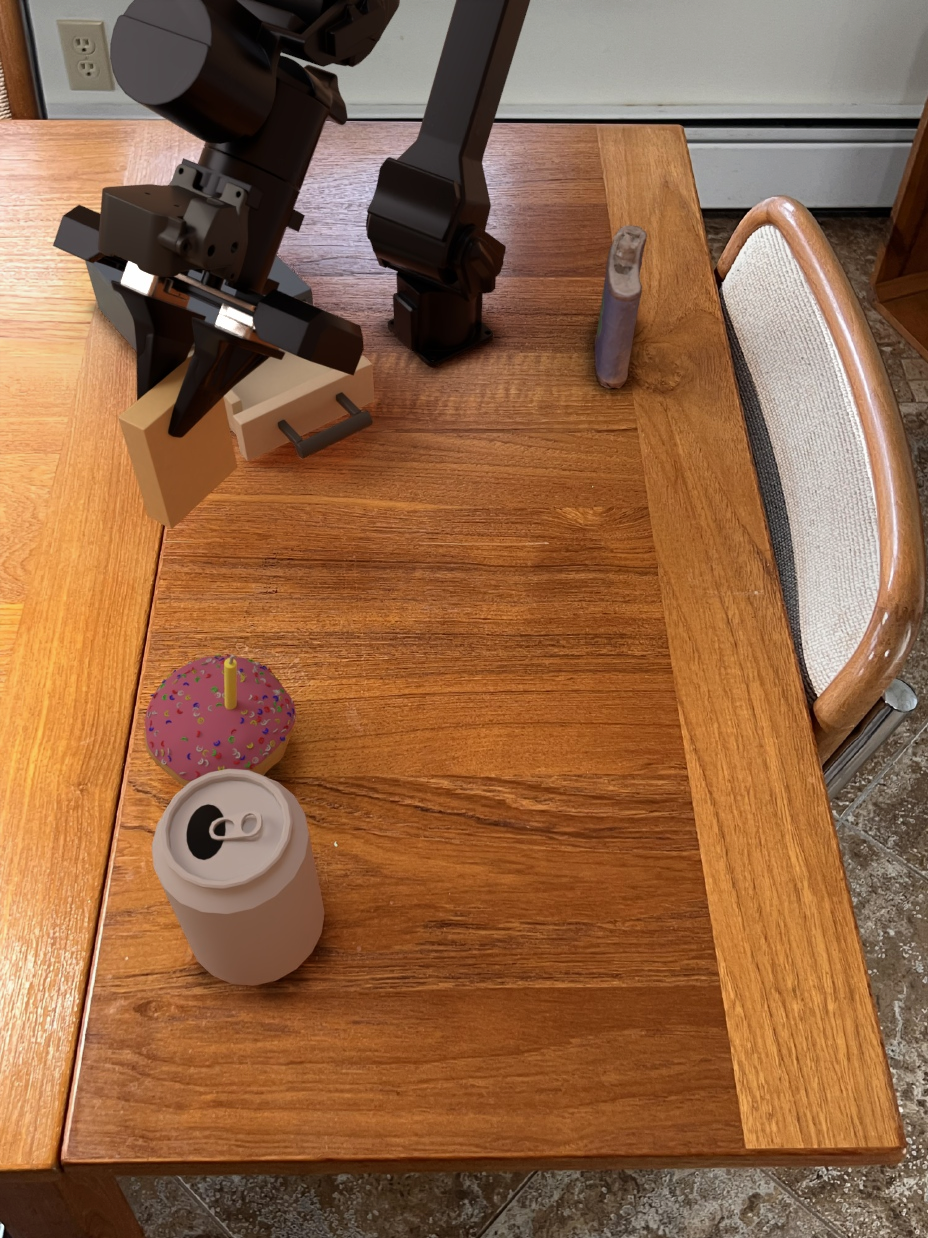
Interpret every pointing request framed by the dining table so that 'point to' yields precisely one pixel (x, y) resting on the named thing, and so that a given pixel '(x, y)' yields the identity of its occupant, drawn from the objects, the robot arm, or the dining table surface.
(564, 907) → the dining table surface
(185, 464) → the block
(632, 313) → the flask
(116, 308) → the cabinet
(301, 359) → the drawer
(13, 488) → the dining table surface
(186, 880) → the can
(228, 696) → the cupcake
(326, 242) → the dining table surface
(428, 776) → the dining table surface
